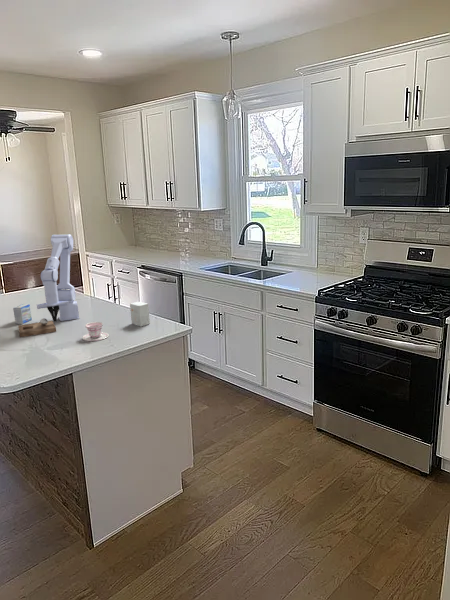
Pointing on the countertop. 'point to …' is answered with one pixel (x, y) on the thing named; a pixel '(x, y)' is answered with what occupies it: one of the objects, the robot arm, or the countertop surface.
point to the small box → (139, 313)
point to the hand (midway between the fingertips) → (54, 321)
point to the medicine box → (22, 314)
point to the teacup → (95, 332)
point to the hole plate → (36, 329)
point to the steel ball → (43, 321)
